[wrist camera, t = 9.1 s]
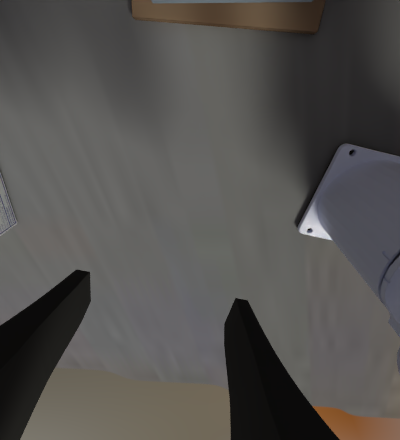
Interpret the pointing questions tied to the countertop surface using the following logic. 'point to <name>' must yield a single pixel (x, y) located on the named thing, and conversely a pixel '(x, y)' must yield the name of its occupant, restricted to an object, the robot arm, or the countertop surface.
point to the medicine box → (5, 209)
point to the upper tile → (225, 1)
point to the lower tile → (236, 14)
